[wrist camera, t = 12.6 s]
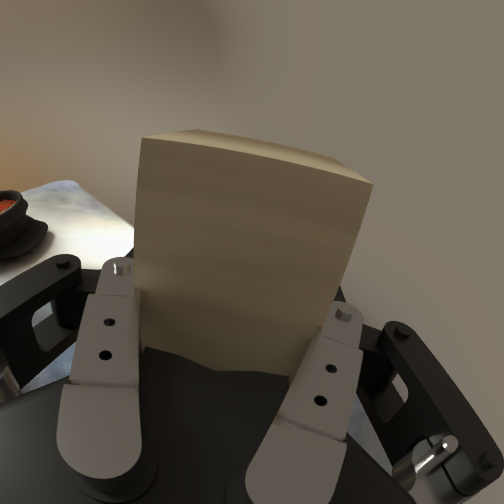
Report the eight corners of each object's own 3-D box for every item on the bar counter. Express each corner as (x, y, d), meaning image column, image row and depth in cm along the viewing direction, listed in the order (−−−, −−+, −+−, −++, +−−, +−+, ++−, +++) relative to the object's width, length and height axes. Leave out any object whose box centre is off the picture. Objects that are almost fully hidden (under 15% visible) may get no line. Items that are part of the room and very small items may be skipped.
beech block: (257, 458, 11) (373, 184, 6) (147, 435, 11) (141, 137, 6) (262, 380, 15) (330, 156, 10) (173, 362, 15) (197, 129, 10)
